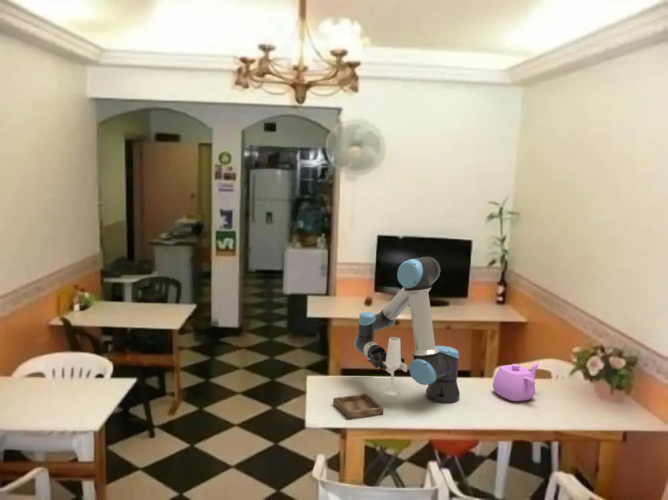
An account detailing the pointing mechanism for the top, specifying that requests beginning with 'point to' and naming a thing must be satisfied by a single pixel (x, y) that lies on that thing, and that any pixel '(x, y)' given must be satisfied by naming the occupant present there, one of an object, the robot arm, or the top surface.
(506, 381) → the teapot
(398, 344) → the champagne flute
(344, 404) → the walnut tray
